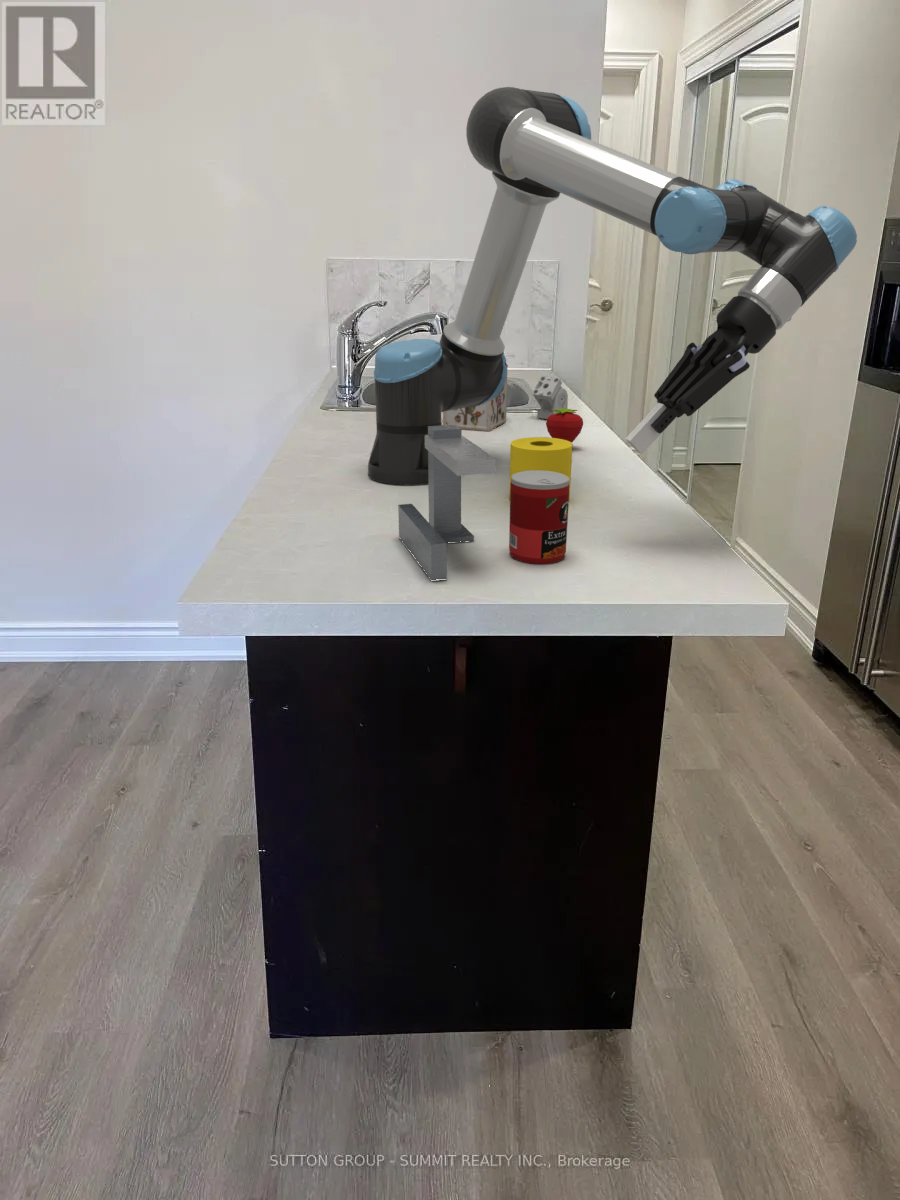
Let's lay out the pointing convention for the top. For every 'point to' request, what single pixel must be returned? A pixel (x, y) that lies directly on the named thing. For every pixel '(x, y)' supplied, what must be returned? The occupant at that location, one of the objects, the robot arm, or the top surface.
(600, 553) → the top surface
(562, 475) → the canned food
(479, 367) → the robot arm
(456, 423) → the white patterned box
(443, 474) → the bracket
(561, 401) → the mechanical component
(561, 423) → the strawberry
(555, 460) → the yellow toilet paper roll
